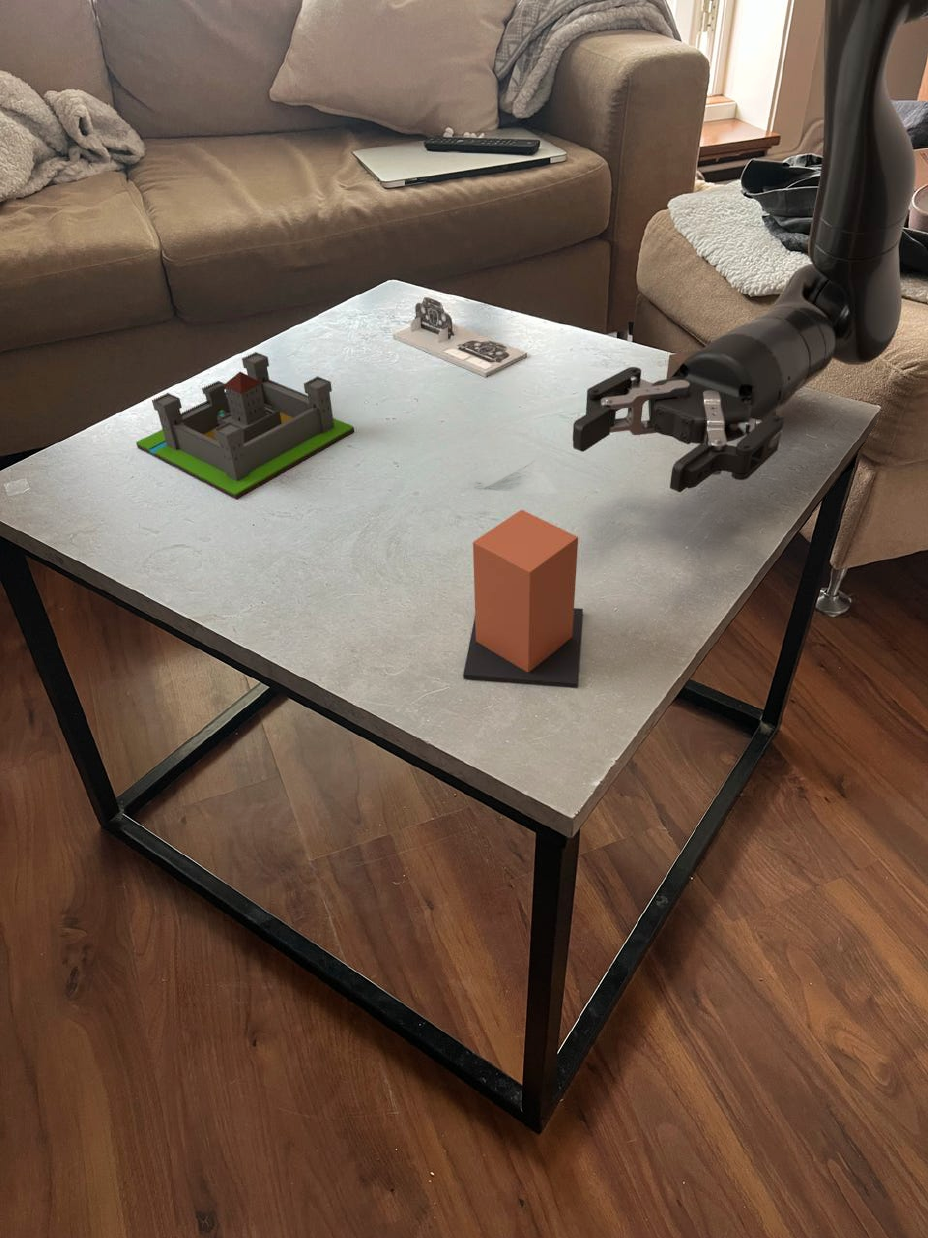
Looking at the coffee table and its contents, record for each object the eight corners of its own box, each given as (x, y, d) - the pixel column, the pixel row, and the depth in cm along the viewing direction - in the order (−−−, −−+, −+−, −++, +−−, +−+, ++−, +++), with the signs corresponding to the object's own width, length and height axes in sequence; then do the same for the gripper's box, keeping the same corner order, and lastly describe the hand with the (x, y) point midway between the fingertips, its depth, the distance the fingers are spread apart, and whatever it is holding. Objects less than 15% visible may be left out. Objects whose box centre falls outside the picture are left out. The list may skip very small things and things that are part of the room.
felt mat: (582, 612, 70) (582, 608, 70) (577, 687, 64) (577, 683, 64) (477, 605, 71) (477, 601, 71) (463, 678, 65) (463, 674, 65)
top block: (520, 608, 70) (521, 509, 64) (572, 637, 67) (578, 536, 61) (475, 641, 67) (472, 541, 61) (528, 673, 65) (530, 572, 59)
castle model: (236, 499, 83) (219, 425, 78) (137, 447, 91) (116, 377, 86) (354, 431, 92) (345, 361, 87) (255, 389, 99) (242, 322, 94)
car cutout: (393, 337, 108) (389, 300, 105) (434, 320, 111) (432, 282, 108) (485, 377, 100) (484, 337, 97) (526, 356, 103) (527, 317, 100)
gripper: (672, 311, 76) (548, 381, 67) (835, 359, 69) (719, 445, 60) (662, 394, 81) (545, 470, 72) (814, 447, 73) (704, 539, 65)
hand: (624, 458), depth 66 cm, fingers open, 8 cm apart
